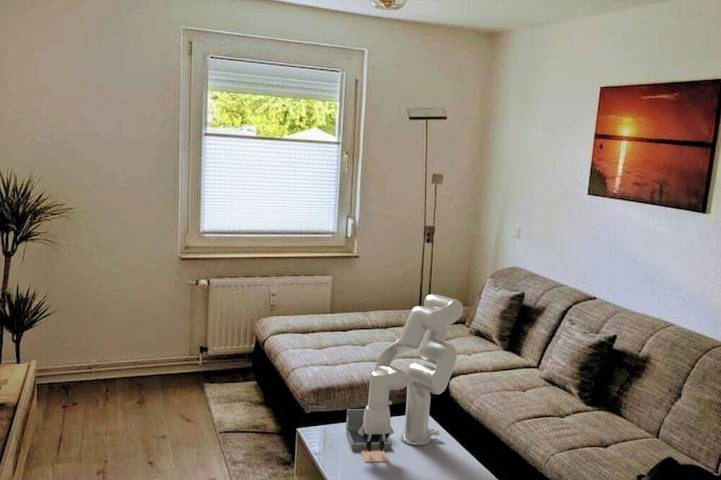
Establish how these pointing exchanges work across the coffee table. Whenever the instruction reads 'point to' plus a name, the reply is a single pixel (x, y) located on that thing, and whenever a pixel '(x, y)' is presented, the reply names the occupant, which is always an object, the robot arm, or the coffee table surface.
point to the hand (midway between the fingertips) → (374, 449)
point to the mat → (374, 456)
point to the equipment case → (352, 428)
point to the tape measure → (375, 437)
